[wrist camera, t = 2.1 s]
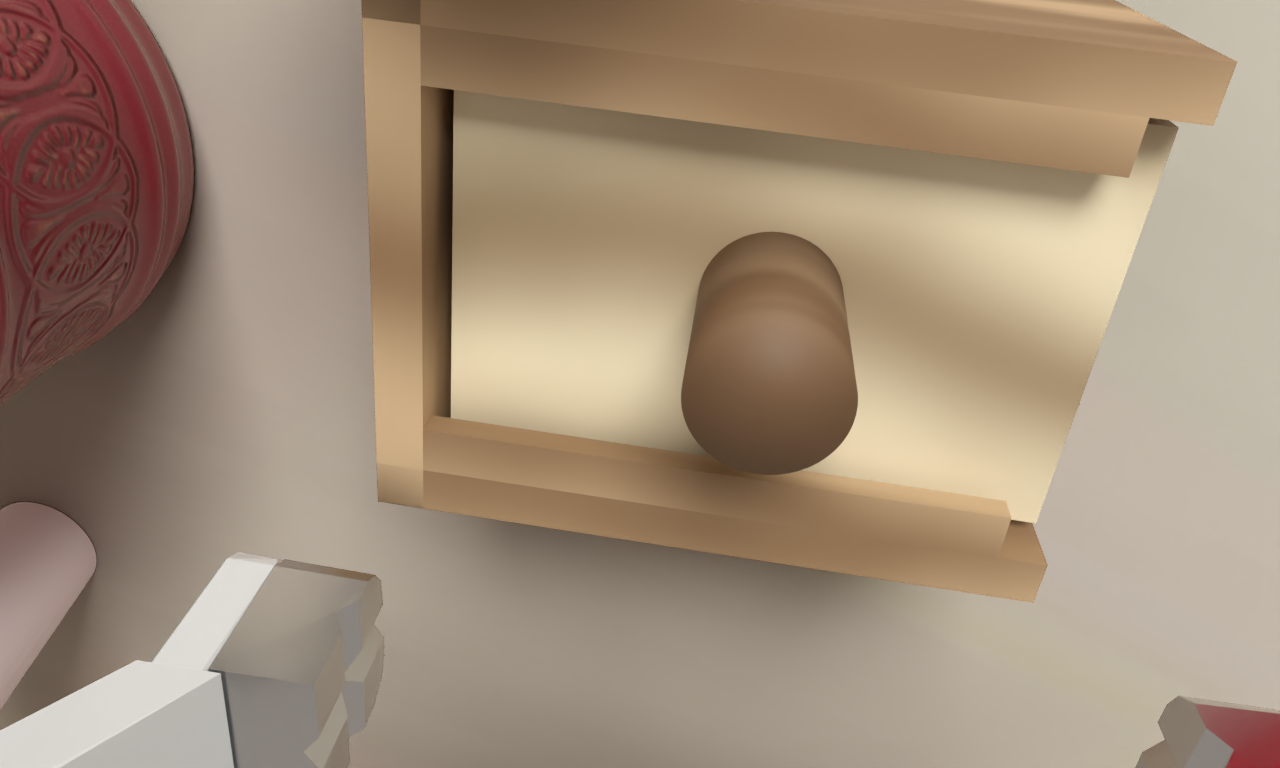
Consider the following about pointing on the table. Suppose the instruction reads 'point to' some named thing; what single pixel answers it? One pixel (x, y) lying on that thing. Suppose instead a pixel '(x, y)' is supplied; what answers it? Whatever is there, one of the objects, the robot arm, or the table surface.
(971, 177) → the lid
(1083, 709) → the table surface
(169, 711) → the robot arm
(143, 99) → the canister
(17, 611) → the smoothie
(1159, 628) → the table surface
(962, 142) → the lid box
